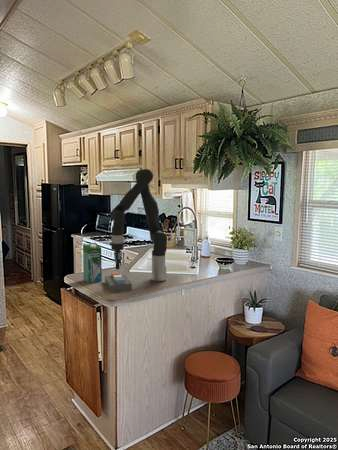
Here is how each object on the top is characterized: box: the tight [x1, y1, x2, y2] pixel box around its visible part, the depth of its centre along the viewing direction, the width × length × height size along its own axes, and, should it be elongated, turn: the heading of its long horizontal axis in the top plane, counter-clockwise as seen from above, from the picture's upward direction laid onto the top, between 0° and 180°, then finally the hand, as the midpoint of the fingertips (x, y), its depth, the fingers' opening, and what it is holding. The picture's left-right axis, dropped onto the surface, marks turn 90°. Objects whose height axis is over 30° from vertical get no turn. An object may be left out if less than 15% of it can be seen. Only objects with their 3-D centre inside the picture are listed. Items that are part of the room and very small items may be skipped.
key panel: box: [104, 274, 133, 293], centre depth 209 cm, size 13×22×4 cm, turn 19°
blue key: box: [115, 278, 125, 285], centre depth 202 cm, size 5×5×3 cm
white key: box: [113, 274, 123, 281], centre depth 209 cm, size 5×5×3 cm
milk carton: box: [82, 242, 103, 284], centre depth 218 cm, size 9×9×25 cm
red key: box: [110, 271, 121, 278], centre depth 215 cm, size 5×5×3 cm
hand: (117, 268), depth 208 cm, fingers closed
